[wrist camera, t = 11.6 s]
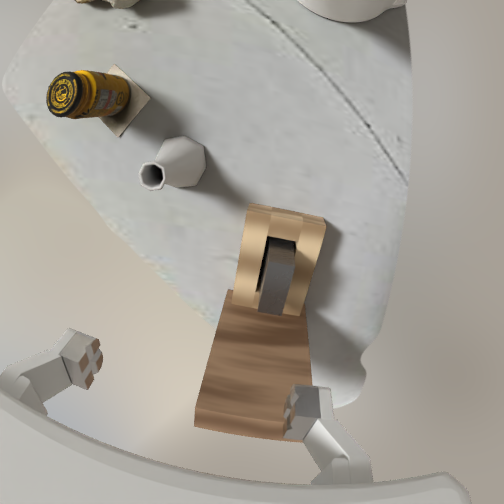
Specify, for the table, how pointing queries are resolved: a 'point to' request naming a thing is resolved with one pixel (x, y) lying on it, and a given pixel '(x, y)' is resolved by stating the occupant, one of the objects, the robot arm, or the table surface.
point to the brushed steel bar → (276, 276)
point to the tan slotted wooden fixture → (260, 333)
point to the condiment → (97, 97)
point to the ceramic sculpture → (115, 3)
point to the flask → (174, 165)
